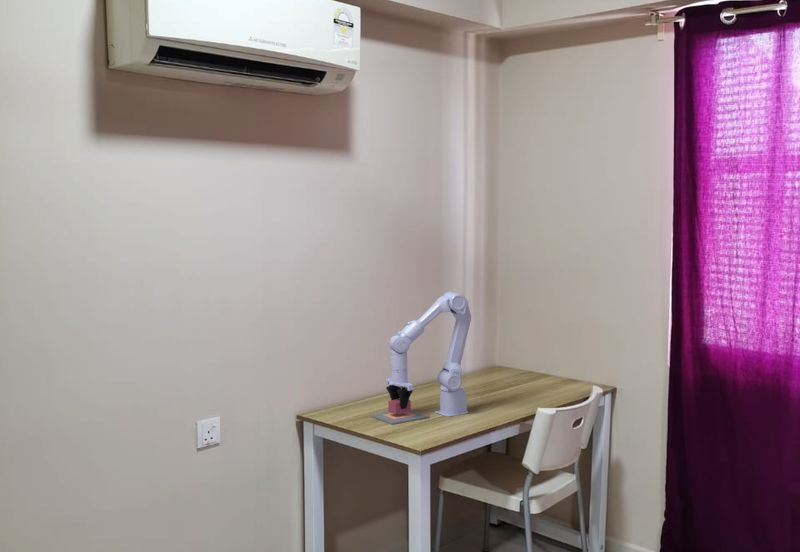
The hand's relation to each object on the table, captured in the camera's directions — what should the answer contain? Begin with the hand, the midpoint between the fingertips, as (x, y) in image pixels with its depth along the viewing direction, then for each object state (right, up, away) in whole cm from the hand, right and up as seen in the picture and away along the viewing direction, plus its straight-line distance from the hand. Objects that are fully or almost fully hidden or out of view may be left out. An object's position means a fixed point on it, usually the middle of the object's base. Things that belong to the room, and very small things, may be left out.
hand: (399, 407), depth 285 cm
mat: (0, -4, 0) cm, 4 cm away
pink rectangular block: (0, -2, 0) cm, 2 cm away
